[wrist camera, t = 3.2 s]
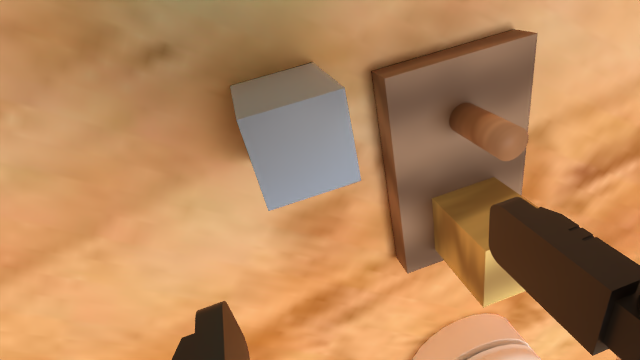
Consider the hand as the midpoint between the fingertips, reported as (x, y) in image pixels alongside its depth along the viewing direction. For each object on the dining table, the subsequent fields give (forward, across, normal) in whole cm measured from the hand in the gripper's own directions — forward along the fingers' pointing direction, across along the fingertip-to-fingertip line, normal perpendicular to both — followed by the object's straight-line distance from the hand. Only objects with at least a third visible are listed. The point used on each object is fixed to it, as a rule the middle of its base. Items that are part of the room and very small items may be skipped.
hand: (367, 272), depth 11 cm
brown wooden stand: (+14, -11, +7) cm, 19 cm away
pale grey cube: (+14, 0, 0) cm, 14 cm away
